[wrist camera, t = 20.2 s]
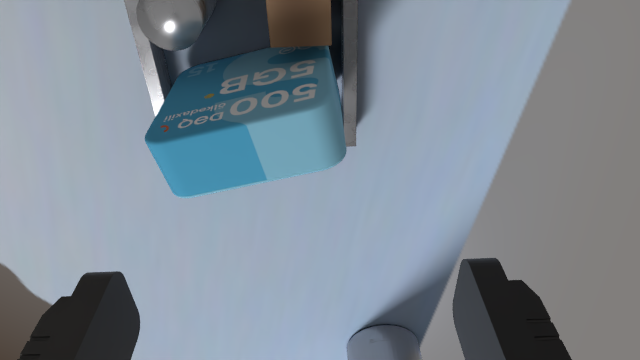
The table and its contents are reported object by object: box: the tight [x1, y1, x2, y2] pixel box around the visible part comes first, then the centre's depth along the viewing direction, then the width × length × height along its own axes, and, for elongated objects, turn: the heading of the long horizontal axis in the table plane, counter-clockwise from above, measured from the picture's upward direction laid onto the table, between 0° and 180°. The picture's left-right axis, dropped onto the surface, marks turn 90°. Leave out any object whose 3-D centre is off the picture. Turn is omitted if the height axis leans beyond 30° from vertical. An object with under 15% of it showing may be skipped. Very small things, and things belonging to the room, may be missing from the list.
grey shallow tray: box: [124, 0, 358, 146], centre depth 35 cm, size 21×16×2 cm
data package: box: [145, 45, 346, 198], centre depth 33 cm, size 12×4×12 cm, turn 103°
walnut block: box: [266, 0, 332, 48], centre depth 32 cm, size 4×4×6 cm
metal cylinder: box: [136, 0, 217, 51], centre depth 32 cm, size 4×4×6 cm
